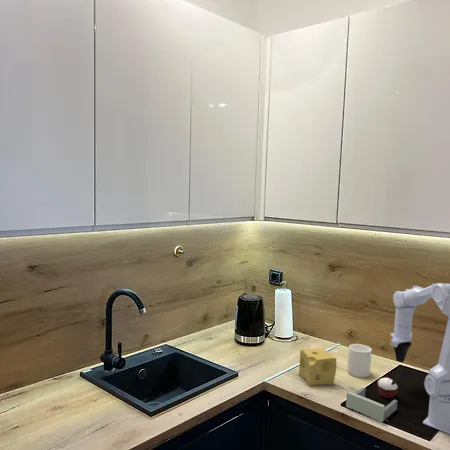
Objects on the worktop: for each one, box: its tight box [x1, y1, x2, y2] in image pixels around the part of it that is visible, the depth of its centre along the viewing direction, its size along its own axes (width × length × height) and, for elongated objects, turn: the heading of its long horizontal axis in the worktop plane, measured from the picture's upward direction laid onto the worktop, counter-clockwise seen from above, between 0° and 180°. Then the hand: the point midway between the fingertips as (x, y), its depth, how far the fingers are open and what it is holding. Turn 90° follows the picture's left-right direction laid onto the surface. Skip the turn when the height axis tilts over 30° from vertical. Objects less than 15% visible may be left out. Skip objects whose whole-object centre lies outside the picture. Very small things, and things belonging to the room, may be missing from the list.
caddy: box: [345, 387, 398, 423], centre depth 140 cm, size 12×11×5 cm
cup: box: [347, 343, 372, 379], centre depth 168 cm, size 8×12×10 cm
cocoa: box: [376, 367, 403, 399], centre depth 148 cm, size 10×6×12 cm, turn 5°
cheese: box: [298, 348, 337, 387], centre depth 160 cm, size 10×11×10 cm
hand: (400, 361), depth 154 cm, fingers closed
